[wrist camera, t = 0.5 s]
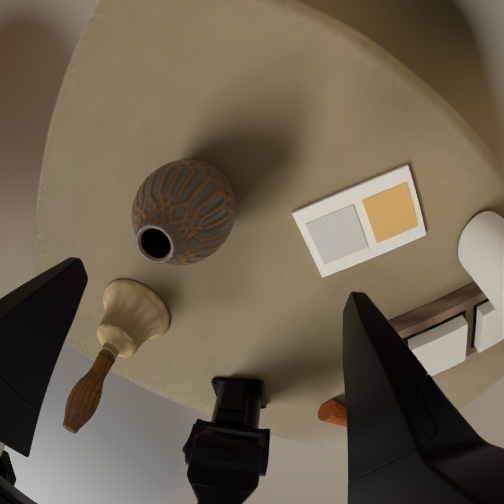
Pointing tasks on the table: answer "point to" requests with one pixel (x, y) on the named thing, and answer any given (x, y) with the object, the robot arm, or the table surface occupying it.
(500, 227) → the can
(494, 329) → the outer pad
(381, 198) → the pattern card
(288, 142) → the table surface
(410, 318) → the button board
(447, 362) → the inner pad
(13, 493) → the robot arm
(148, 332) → the hand bell
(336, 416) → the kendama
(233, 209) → the vase
